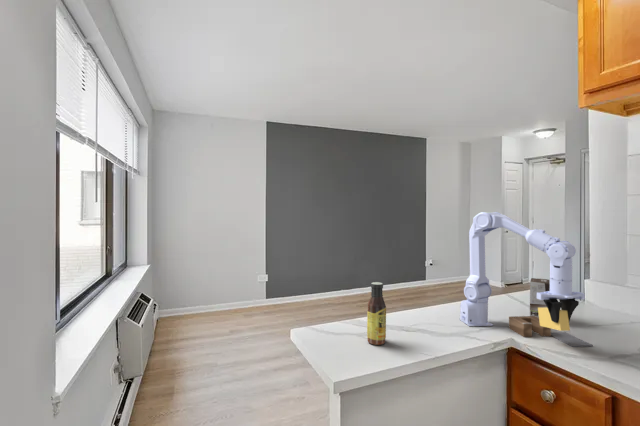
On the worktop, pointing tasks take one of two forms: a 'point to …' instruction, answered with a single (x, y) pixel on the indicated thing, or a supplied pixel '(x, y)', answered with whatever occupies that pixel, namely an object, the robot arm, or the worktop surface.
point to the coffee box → (536, 287)
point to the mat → (570, 339)
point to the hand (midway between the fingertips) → (560, 321)
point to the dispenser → (528, 326)
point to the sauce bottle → (376, 315)
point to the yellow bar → (547, 322)
